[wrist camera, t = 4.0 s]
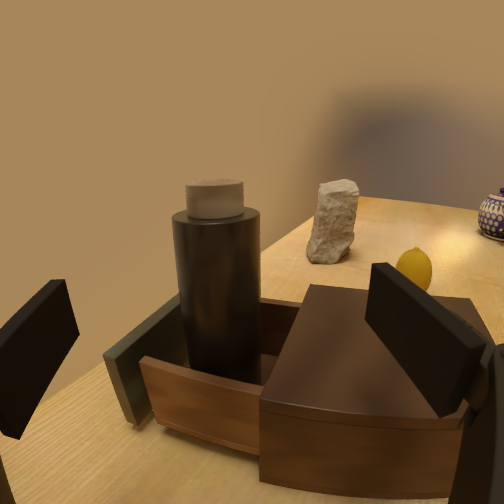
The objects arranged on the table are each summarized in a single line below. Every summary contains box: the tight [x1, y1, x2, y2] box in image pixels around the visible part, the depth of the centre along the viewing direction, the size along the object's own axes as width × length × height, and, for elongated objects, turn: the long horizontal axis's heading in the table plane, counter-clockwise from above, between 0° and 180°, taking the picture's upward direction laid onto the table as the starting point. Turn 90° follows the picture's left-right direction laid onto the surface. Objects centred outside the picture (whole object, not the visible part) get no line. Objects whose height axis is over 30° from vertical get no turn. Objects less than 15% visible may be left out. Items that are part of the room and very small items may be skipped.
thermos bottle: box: [172, 179, 261, 386], centre depth 22 cm, size 6×6×16 cm
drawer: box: [103, 293, 302, 455], centre depth 24 cm, size 15×13×7 cm
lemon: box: [395, 247, 432, 292], centre depth 40 cm, size 6×6×8 cm
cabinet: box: [259, 284, 496, 499], centre depth 20 cm, size 15×14×9 cm
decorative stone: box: [306, 179, 359, 264], centre depth 58 cm, size 10×9×15 cm
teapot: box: [478, 188, 504, 241], centre depth 70 cm, size 25×15×15 cm, turn 142°
